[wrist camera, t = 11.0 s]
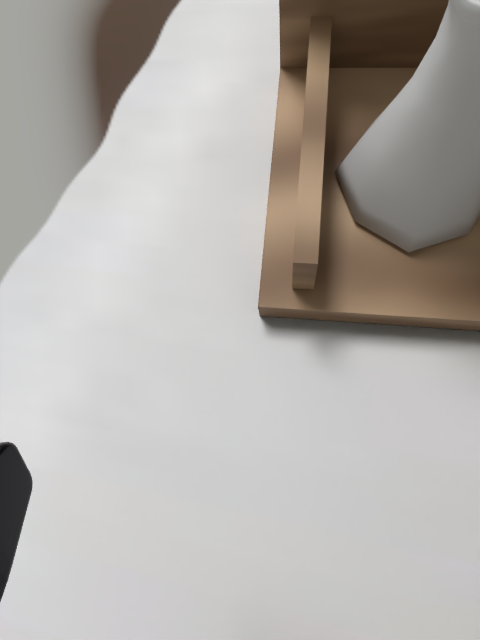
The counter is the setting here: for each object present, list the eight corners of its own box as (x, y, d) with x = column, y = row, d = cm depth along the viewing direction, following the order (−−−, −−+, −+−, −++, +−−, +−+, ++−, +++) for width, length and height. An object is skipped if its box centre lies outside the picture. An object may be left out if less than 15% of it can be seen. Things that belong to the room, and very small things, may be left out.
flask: (525, 194, 21) (729, -23, 11) (404, 280, 20) (509, 129, 11) (421, 97, 23) (517, -155, 13) (308, 172, 22) (324, -35, 13)
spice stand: (563, 336, 20) (890, 204, 9) (259, 315, 22) (233, 183, 11) (537, 72, 24) (744, -238, 13) (282, 72, 26) (279, -202, 15)
